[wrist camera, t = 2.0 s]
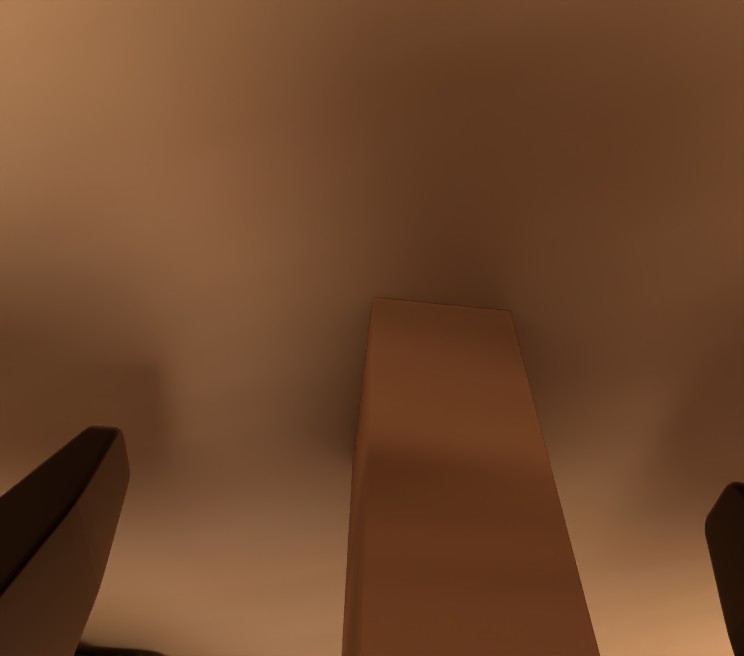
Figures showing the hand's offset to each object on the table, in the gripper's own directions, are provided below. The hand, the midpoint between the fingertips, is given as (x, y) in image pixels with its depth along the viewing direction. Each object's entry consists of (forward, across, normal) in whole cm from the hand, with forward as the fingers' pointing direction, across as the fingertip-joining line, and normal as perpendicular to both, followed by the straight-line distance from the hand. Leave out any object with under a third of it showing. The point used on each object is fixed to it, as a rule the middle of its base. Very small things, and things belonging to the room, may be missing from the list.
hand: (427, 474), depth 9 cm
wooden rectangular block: (+2, 0, 0) cm, 2 cm away
